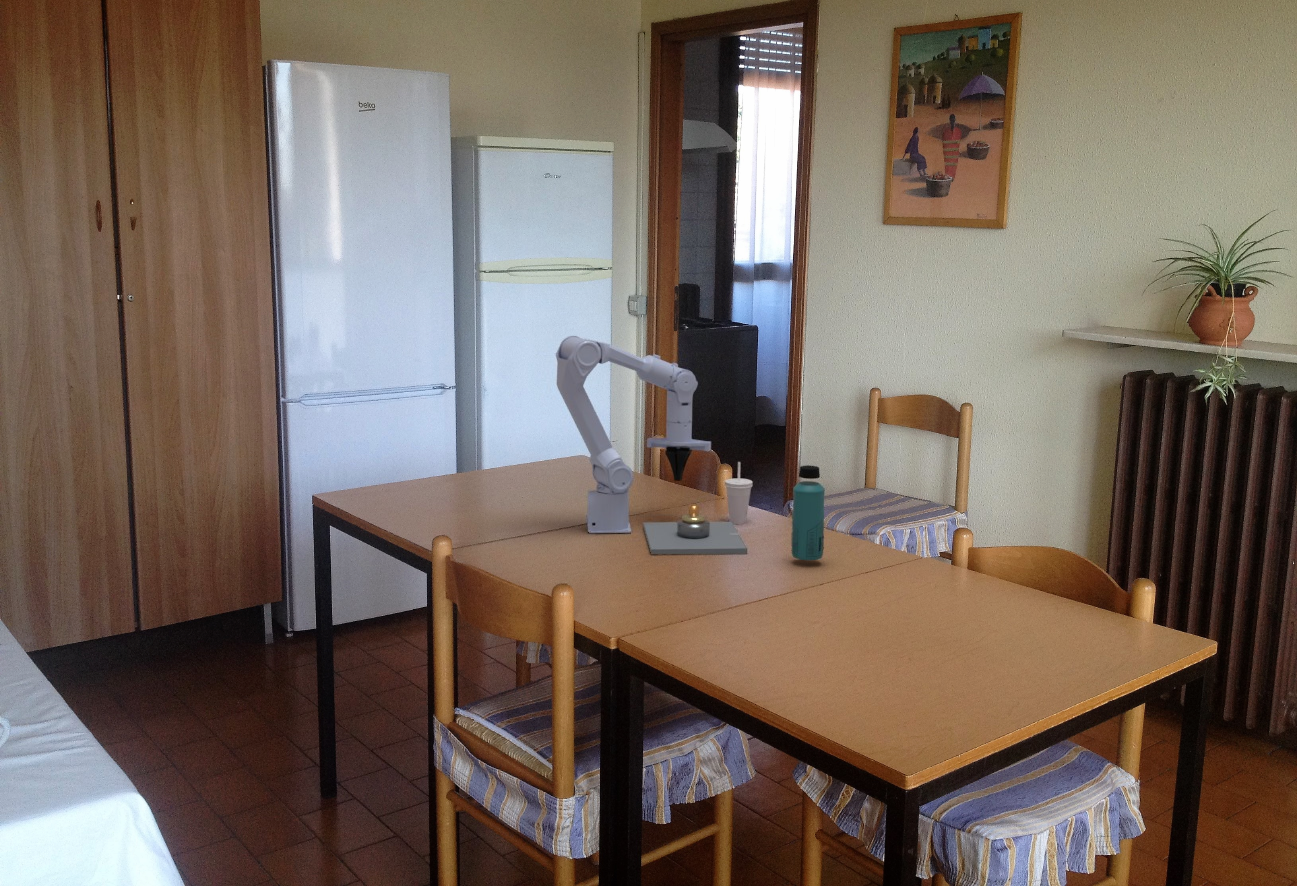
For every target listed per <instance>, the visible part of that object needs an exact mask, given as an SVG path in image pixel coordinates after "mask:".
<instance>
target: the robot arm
mask: <svg viewBox="0 0 1297 886" xmlns="http://www.w3.org/2000/svg"><path fill="white" fill-rule="evenodd" d="M556 350H557V351H556V353H555V358H556V361H557V365H556V366H557V367H556V368H557V369H556V387H557V389H558V391H559V394H560V396H561V397H562V400H563V401H564V403H565V406H566V407H567V410H568V412H569V414H570V415H571V418H572V419H573V421H574V424H575V426H576V429H578V431H579V434H580V436H581V438H582V440H583V442H584V444H585V446H586V448H587V450H588V453H589V454H590V457H589V462H590V464H591V467H592V468H591V473H592V477H593V479H594V480H595V481H596V489H593V490H591V489H590V490H587V507H586V508H587V510H586V511H587V515H586V516H585V524H587V532H589V534H619V533H620V534H628V533H629V534H630V533H632V528H631V523H630V522H629V521H630V520H629V515H630V514H629V513H630V512H629V510H630V508H629V507H630V506H629V505H630V504H629V503H630V498H629V497H630V488H631V486H632V485H633V482H634V477H635V475H634V472H633V471H634V470H632V468H631V467H630V466H629V465H627V464H626V463H625V462H624V461H623V458H622V456H620V454H619V452H617V451H616V450H615V448H614V447H613V445H612V443H611V441H610V438H609V437H608V435H607V433H606V430H605V429H604V426H603V424H602V422H601V420H600V418H599V416H598V414H597V412H596V410H595V407H594V406H593V404H592V401H591V399H590V397H589V395H588V393H587V391H586V388H585V387H584V385H585V382H586V380H587V378H588V376H589V375H590V374H591V372H592V371H593V370H594V369H595V368H596V367H597V365H598V364H602V365H603V364H605V363H608V362H610V363H613V364H615V365H618V366H621V367H623V368H627V369H628V370H629V369H630V370H632V371H634V372H636V374H637V377H638V378H639V380H641V381H644V382H646V383H649V384H651V385H654V386H657V387H659V388H661V389H664V390H665V391H666V395H667V396H666V427H665V428H666V434H665V435H666V436H665V437H648V438H647V439H646V448H650V449H651V448H659V449H661V448H663V449H665V452H664V453H665V456H666V458H667V460H668V462H669V465H670V467H671V470H672V471H671V472H672V474H673V481H675V482H681V481H682V480H683V476H684V471H685V468H686V465H687V462H688V461H689V458H690V456H691V454H692V452H693V451H704V452H710V451H711V449H712V441H706V440H701V439H700V440H699V439H695V438H694V439H693V438H692V435H693V434H692V431H693V430H692V429H693V427H692V426H693V397H694V396H693V395H694V392H695V391H696V390H697V388H698V385H699V382H698V380H697V378H696V375H695V374H694V373H693V372H692V371H691V370H689V369H685V368H681V367H679V363H675V362H672V363H671V362H668V361H665V360H663V359H661V355H658V354H655V353H654V354H652V355H651V354H649V355H645V356H643V357H640V356H637V355H635V354H634V353H631V352H628V351H626V350H624V349H622V348H619V347H618V346H615V345H613V344H610V343H607V342H601V341H598V340H593V339H590V338H582V337H579V336H577V335H570V336H567V337H565V338H563V340H561V342H560V344H559V347H558V349H556Z"/></svg>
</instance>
